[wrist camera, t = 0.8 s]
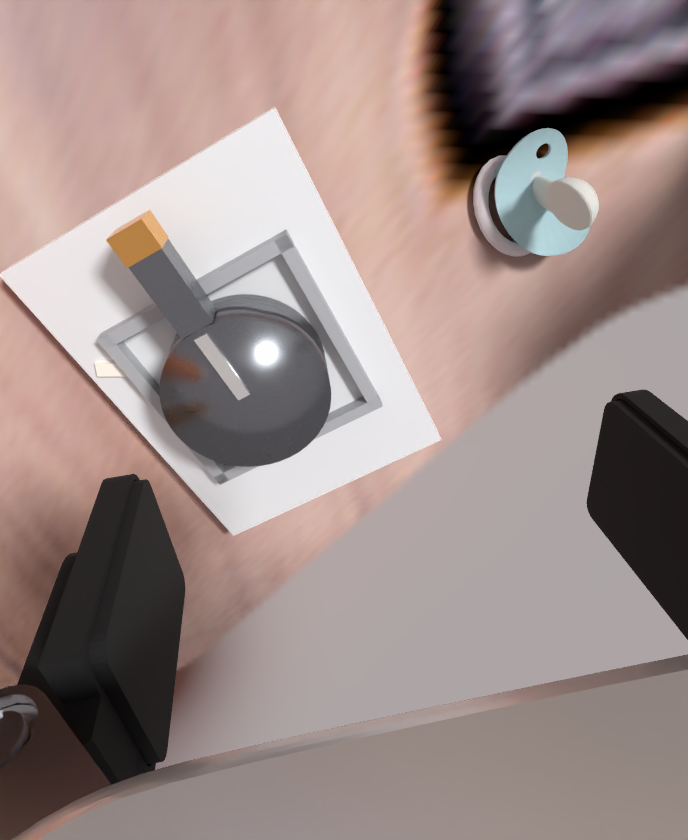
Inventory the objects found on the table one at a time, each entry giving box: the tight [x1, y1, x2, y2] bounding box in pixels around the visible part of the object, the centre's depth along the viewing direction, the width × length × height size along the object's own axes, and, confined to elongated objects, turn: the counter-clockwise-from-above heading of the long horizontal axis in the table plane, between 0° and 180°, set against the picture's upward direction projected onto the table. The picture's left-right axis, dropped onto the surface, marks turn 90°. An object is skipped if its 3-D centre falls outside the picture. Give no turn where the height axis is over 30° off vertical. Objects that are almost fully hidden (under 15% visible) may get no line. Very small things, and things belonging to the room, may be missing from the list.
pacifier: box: [473, 128, 599, 257], centre depth 31 cm, size 7×6×6 cm
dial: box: [106, 209, 331, 467], centre depth 33 cm, size 16×10×4 cm, turn 27°
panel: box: [0, 106, 442, 536], centre depth 36 cm, size 18×24×3 cm
